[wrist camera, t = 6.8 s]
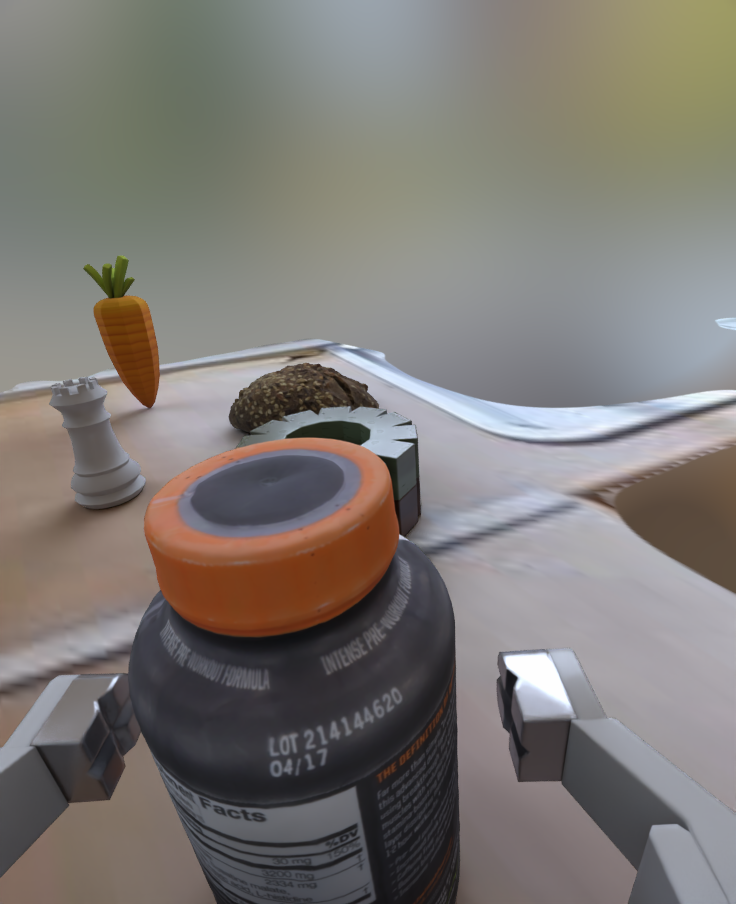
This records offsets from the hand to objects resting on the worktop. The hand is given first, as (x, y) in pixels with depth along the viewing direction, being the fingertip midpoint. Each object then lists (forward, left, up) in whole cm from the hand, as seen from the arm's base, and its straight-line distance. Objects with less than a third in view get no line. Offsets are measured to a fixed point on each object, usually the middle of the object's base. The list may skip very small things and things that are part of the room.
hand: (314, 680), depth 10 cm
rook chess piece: (-5, +27, -6) cm, 28 cm away
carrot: (-1, +47, -6) cm, 47 cm away
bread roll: (+12, +33, -6) cm, 35 cm away
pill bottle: (0, 0, -6) cm, 6 cm away
